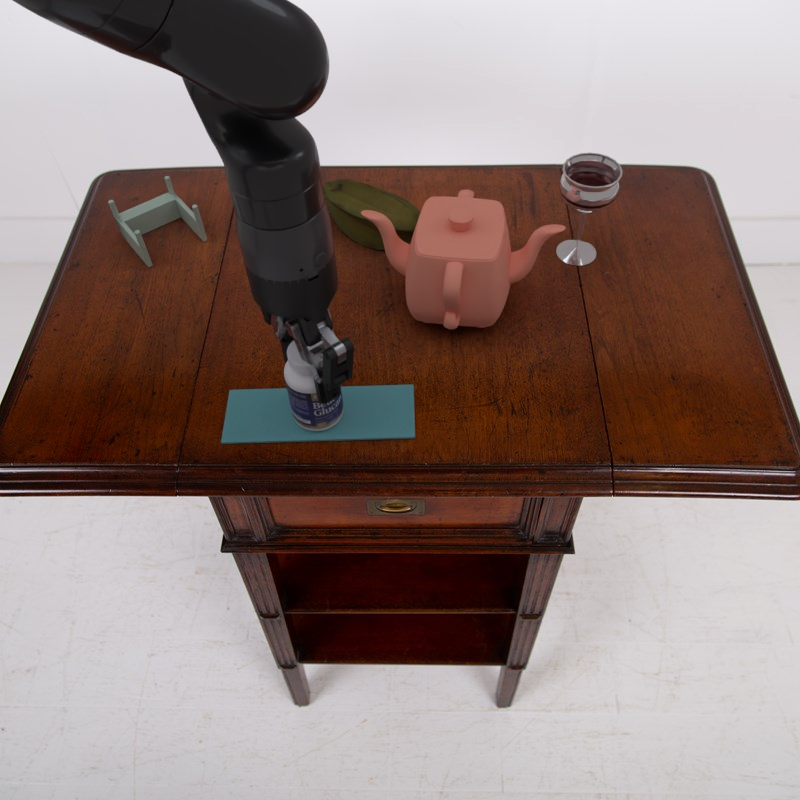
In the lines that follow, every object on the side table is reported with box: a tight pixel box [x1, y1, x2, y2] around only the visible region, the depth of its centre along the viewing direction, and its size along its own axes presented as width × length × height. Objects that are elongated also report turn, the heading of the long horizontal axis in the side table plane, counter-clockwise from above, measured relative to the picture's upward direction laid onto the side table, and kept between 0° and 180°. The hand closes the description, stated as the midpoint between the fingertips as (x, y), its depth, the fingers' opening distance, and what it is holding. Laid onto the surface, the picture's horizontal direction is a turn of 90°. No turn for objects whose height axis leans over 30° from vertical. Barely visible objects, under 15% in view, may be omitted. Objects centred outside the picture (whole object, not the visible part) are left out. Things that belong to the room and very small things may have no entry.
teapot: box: [361, 189, 566, 331], centre depth 85 cm, size 15×17×13 cm
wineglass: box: [555, 152, 623, 266], centre depth 90 cm, size 7×7×12 cm
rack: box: [107, 175, 208, 268], centre depth 97 cm, size 8×8×5 cm
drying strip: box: [220, 383, 416, 445], centre depth 80 cm, size 20×7×1 cm, turn 91°
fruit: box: [323, 178, 421, 251], centre depth 96 cm, size 11×12×7 cm
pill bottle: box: [283, 341, 344, 431], centre depth 76 cm, size 5×5×10 cm
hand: (312, 379), depth 75 cm, fingers closed on pill bottle, 5 cm apart
